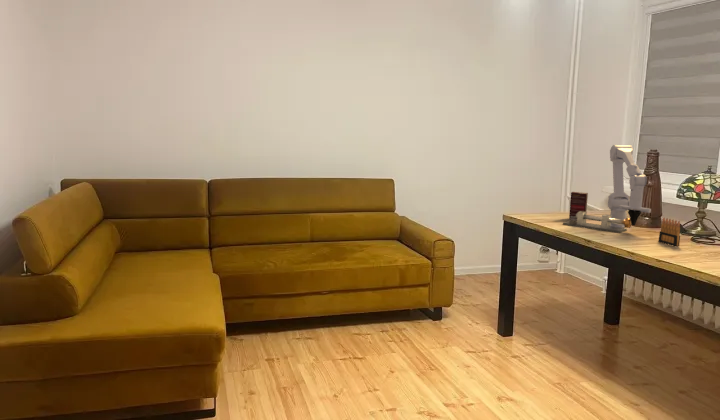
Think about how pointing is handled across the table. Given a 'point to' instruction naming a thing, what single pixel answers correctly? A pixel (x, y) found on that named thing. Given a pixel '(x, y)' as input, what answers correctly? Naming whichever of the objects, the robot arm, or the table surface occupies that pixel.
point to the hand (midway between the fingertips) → (633, 224)
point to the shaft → (610, 220)
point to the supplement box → (577, 204)
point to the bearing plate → (604, 224)
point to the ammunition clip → (670, 232)
